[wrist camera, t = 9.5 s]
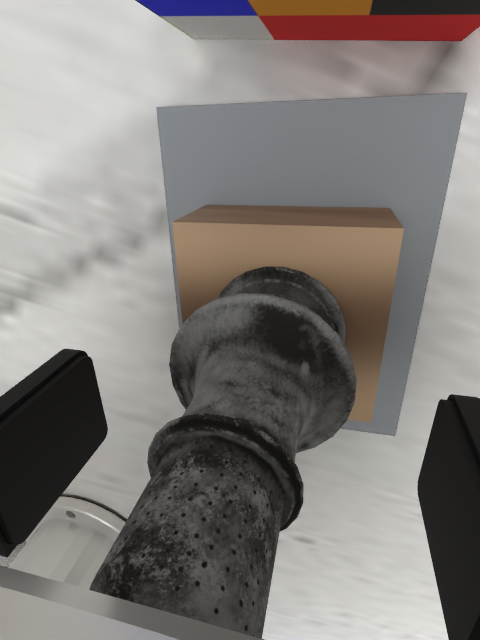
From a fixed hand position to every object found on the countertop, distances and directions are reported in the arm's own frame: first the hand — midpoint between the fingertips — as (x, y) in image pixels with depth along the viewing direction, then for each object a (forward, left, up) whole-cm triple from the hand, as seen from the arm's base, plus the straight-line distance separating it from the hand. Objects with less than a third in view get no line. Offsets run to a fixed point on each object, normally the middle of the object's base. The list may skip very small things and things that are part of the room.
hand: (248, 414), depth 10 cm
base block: (0, 0, -9) cm, 9 cm away
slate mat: (0, 0, -10) cm, 10 cm away
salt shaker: (0, 0, -5) cm, 5 cm away
